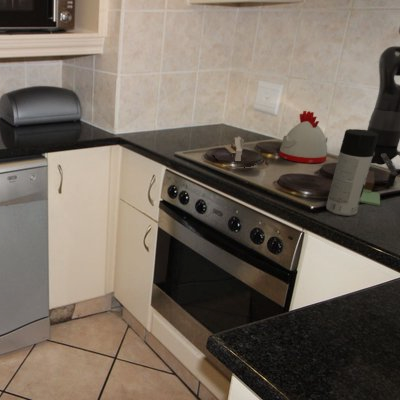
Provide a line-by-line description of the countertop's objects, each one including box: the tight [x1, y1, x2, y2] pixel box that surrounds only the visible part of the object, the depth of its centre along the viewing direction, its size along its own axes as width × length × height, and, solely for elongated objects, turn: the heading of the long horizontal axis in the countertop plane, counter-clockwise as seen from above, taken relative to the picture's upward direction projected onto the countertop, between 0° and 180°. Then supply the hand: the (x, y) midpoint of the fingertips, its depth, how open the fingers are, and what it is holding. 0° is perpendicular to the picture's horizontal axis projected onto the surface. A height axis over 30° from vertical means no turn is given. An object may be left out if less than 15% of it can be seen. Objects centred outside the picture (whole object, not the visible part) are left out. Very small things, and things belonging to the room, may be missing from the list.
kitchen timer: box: [278, 110, 328, 164], centre depth 156 cm, size 14×14×15 cm
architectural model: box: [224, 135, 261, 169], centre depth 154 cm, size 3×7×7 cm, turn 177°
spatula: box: [360, 170, 381, 207], centre depth 130 cm, size 21×6×3 cm, turn 147°
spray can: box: [325, 128, 378, 217], centre depth 114 cm, size 7×7×20 cm
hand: (368, 184), depth 131 cm, fingers open, 8 cm apart
